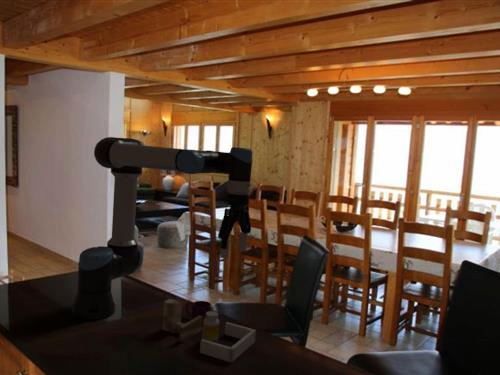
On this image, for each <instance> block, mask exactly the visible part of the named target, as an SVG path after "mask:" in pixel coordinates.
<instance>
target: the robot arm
mask: <svg viewBox="0 0 500 375" xmlns="http://www.w3.org/2000/svg"><path fill="white" fill-rule="evenodd" d="M93 153H94V154H93V156H94V159H95V161H96V162H97V163H98V164H99V165H100V166H101V167H103V168H106V169H110V174H111V175H113V177H114V182H113V183H114V185H113V203H112V204H113V205H112V221H111V222H112V224H111V237H110V238H109V239H108V240H107V242H106V246H93V247H92V246H91V247H88V248H86V249H84V250H83V251H81V252H80V254H79V259H78V264H77V265H78V269H77V270H78V271H77V272H78V275H77V277H78V278H77V293H76V295H75V298H74V301H73V304H72V305H71V315H72V316H73V317H74V318H76V319H80V320H87V321H90V320H91V321H93V320H102V319H105V318H108V317H112V316H113V315H114V313H115V312H116V304H115V302H114V297H113V293H112V282H113V280H115V279H116V280H117V279H119V278H122V277H125V276H130V275H131V274H133V273H136V272H137V271H138V270H139V269H140V268H141V267H142V264H143V259H144V254H143V251H142V250H141V247H140V246H139V242H138V240H136V239H135V231H136V227H135V226H136V216H137V215H136V211H137V198H138V197H137V194H138V192H137V191H138V178H139V177H141V175H143V168H144V169H152V170H161V171H171V172H178V173H179V172H180V173H183V174H187V175H196V174H221V175H228V181H227V182H228V183H227V192H228V193H227V194H226V204H228V205H229V206H230V207H229V208H225V209H224V212H223V213H224V214H223V218H222V219H221V224H220V228H219V230H218V234H217V237H218V239H221V242H220V252H219V253H220V256H219V258H220V259H225V260H228V259H229V257H230V256H229V254H230V245H231V244H230V242H231V239H230V236H231V233H232V231H233V228H234V226H235V224H236V223H238V225H239V229H240V232H239V240H238V242H239V243H238V251H241V252H247V247H248V246H247V245H248V234H251V231H252V224H251V218H250V212H249V211H250V207H249V203H250V195H249V193H250V191H251V190H250V189H251V188H252V185H251V176H252V166H253V150H252V149H251V148H247V147H235V146H234V147H231V148H230V152H226V151H225V152H223V151H216V150H215V151H214V150H209V149H208V150H197V149H196V150H195V149H187V148H185V149H183V148H176V147H175V148H173V147H172V148H171V147H164V146H162V147H161V146H152V145H145V144H144V142H143V141H141V140H139V139H136V138H132V137H128V138H127V137H114V136H108V137H103V138H102V139H100V140H99V141H98V142H97V143H96V144H95V146H94V152H93Z"/></svg>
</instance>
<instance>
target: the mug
mask: <svg viewBox="0 0 500 375" xmlns="http://www.w3.org/2000/svg"><path fill="white" fill-rule="evenodd" d="M189 305H192V308H191V309H192V311H191V312H190V311H189ZM185 310H186V313H187V314H188V316H189V317H191V320H192V319H194V318H196V317H197V316H199V315H200V316H203V321H204V319H205V318H206V313H207V312H209V311H211V310H212V304H211V303H210V302H209V301H208V300H207V301H205V300H197V301H194V302H192V301H188V302H187V303H186V305H185ZM202 325H203V323H202Z"/></svg>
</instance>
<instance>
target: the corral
mask: <svg viewBox="0 0 500 375" xmlns="http://www.w3.org/2000/svg"><path fill="white" fill-rule="evenodd" d="M224 335H225V336H229V337H233V338H237V339H239V340H238V341H237V342H236V343H234V344H233V345H232V346H227V345H224V344H222V343H218V342H217V343H214V342H211V341H208V340H204V339H202V338H201V339H200V345H199V346H200V347H199V354H203V355H206V356H209V357H213V358H215V359H219V360H222V361H225V362H228V363H230V364H231V363H233V362H234V361H236V359H238V357H240V356H241V355H242V354H243V353H244V352H246V351H247V350H248V349H249V348H250V347H251V346H252V345H253V344H254V343H255V342H256V341H257V340H256V337H257V329H254V328H251V327H250V328H249V327H246V326H243V325H239V324H236V323H231V322H228V321H227V322H225V326H224Z"/></svg>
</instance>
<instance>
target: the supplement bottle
mask: <svg viewBox="0 0 500 375" xmlns="http://www.w3.org/2000/svg"><path fill="white" fill-rule="evenodd" d="M218 317H219V313H218V312H217V311H209V312H207V313H206V318H205V319H204V321H203V326H202V332H201V340H202V339H204V340H208V341H211V342H214V343H218V342H219V333H220V320H219V318H218Z"/></svg>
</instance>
